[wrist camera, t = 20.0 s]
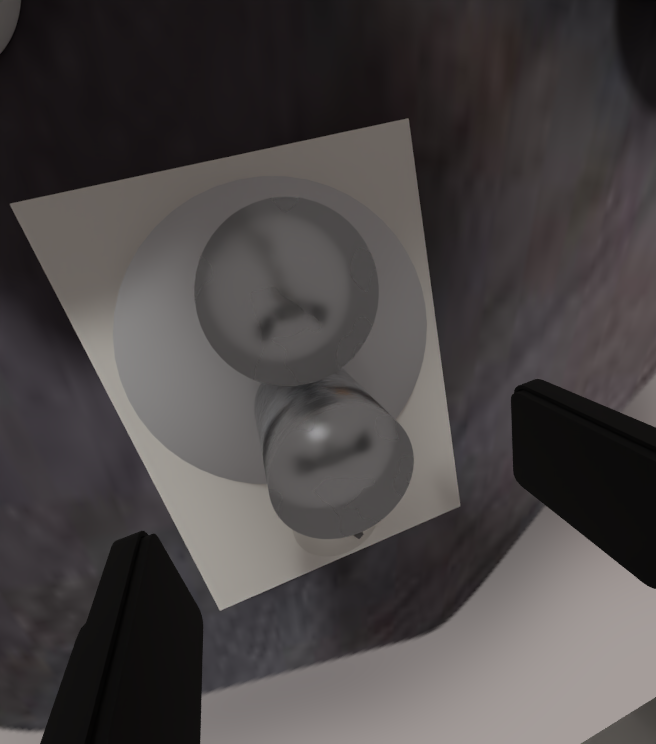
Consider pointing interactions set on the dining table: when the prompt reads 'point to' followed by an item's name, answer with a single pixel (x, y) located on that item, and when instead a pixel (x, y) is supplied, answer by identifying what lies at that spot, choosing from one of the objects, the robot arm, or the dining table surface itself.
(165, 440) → the scale
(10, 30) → the candle holder
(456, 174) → the dining table surface
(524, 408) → the robot arm
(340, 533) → the cylinder
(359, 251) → the disc
